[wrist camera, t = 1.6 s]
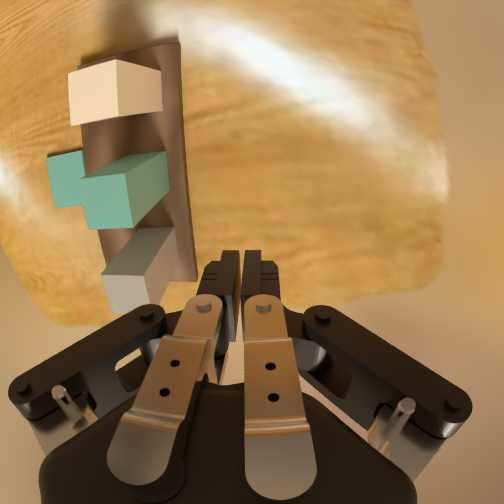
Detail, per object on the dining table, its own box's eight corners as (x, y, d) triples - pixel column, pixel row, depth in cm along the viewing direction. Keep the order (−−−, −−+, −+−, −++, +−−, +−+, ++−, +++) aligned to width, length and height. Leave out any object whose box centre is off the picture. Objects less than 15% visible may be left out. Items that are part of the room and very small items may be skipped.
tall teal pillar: (165, 150, 34) (124, 173, 23) (169, 190, 36) (133, 227, 25) (129, 154, 34) (78, 179, 23) (133, 192, 36) (88, 229, 26)
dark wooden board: (180, 44, 29) (177, 42, 28) (198, 276, 44) (196, 281, 42) (83, 66, 30) (77, 66, 28) (114, 274, 44) (110, 279, 43)
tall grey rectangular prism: (174, 227, 38) (143, 275, 28) (179, 260, 41) (153, 316, 30) (139, 228, 39) (100, 274, 28) (145, 260, 41) (112, 313, 30)
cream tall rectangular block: (161, 71, 29) (116, 59, 19) (162, 110, 32) (118, 115, 21) (123, 78, 29) (68, 73, 19) (125, 116, 32) (71, 126, 21)
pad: (83, 149, 35) (81, 150, 35) (92, 203, 39) (90, 204, 38) (48, 157, 35) (46, 158, 35) (57, 207, 39) (55, 208, 39)
